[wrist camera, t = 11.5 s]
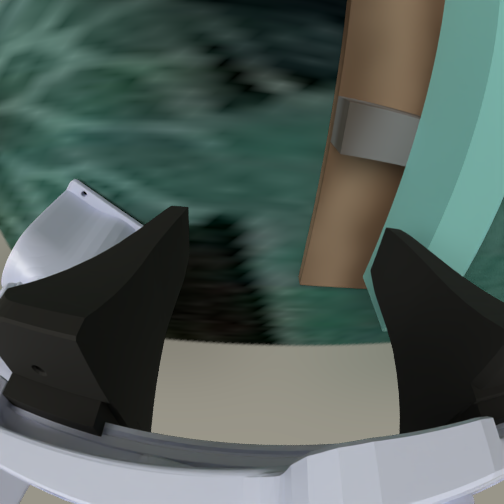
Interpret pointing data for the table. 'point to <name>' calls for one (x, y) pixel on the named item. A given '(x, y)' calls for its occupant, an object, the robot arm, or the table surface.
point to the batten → (456, 142)
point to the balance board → (360, 181)
